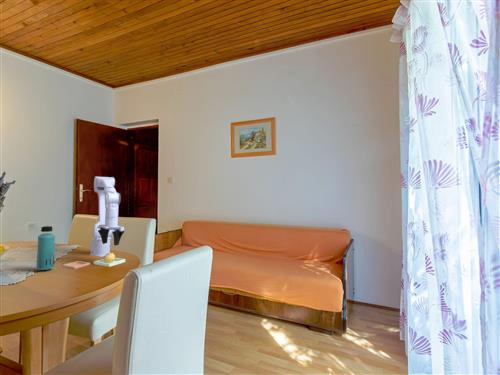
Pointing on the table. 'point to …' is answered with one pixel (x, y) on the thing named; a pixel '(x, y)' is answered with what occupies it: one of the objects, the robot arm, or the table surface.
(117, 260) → the tray
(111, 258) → the ball
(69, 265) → the dish
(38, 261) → the beverage bottle
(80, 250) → the table surface
